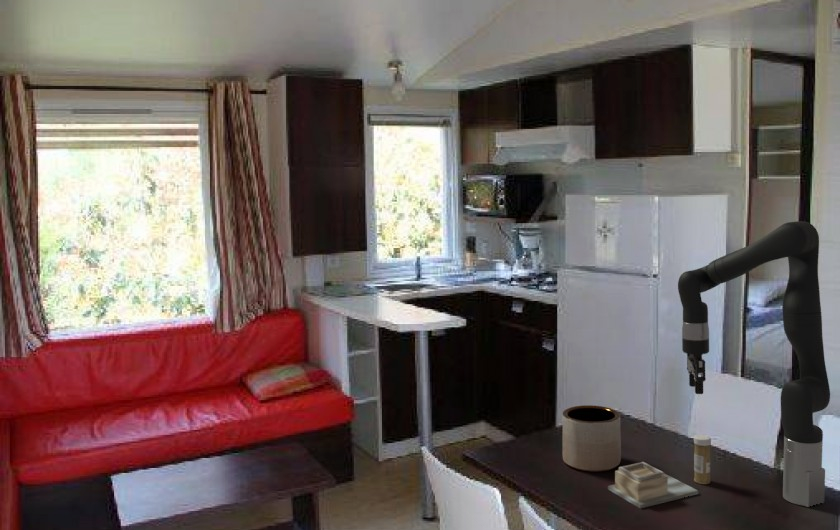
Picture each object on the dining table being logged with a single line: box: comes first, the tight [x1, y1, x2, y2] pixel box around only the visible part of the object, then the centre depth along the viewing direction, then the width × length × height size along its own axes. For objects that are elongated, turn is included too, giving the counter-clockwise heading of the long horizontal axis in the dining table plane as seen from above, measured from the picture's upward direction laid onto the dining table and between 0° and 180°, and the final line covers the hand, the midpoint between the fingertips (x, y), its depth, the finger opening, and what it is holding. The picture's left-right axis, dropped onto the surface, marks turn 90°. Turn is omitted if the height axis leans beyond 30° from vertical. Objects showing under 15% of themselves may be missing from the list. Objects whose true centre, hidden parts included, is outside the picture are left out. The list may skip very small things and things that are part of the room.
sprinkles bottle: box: [693, 434, 712, 485], centre depth 217 cm, size 5×5×14 cm
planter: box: [562, 404, 622, 472], centre depth 234 cm, size 18×18×16 cm
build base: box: [607, 461, 699, 509], centre depth 212 cm, size 14×20×7 cm
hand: (696, 389), depth 225 cm, fingers open, 8 cm apart
